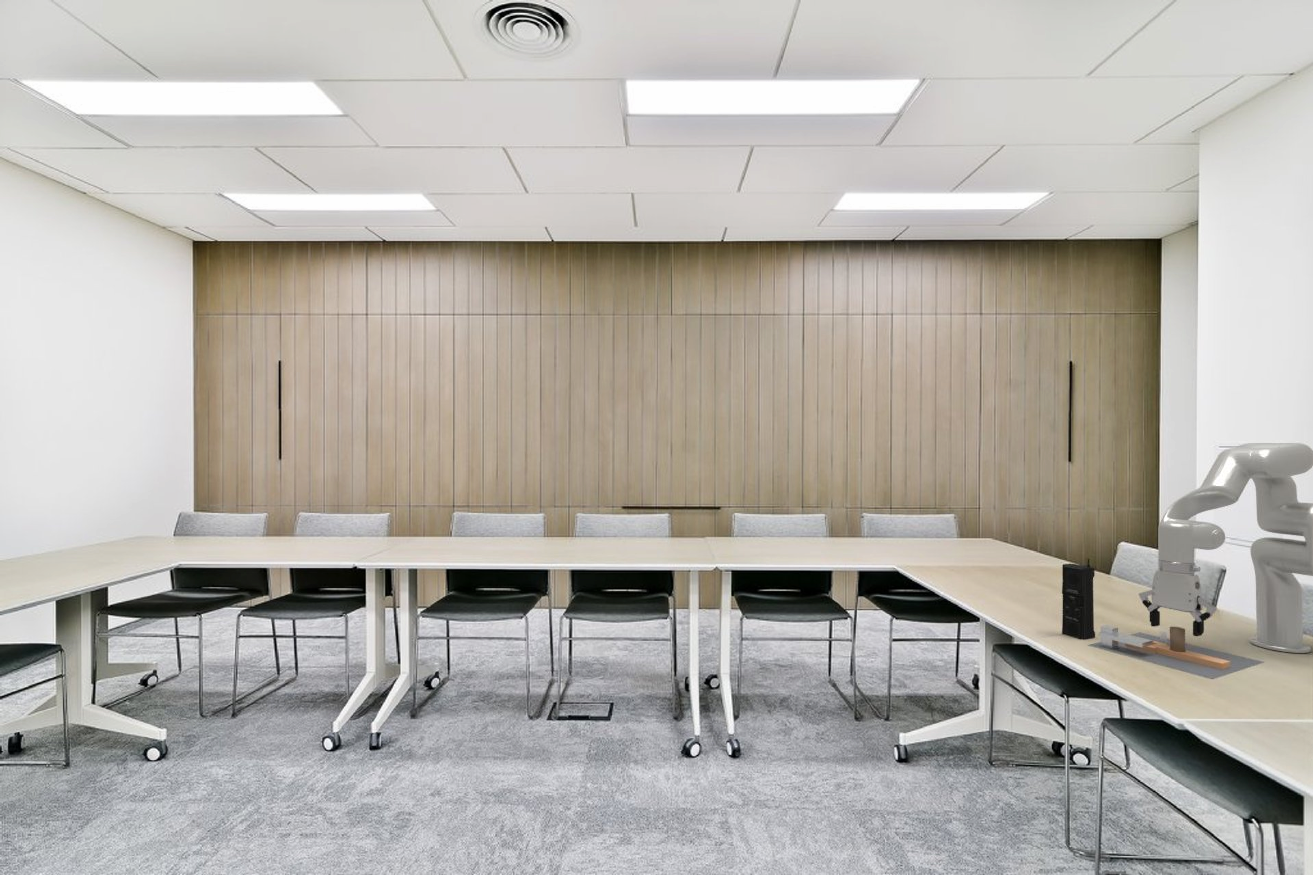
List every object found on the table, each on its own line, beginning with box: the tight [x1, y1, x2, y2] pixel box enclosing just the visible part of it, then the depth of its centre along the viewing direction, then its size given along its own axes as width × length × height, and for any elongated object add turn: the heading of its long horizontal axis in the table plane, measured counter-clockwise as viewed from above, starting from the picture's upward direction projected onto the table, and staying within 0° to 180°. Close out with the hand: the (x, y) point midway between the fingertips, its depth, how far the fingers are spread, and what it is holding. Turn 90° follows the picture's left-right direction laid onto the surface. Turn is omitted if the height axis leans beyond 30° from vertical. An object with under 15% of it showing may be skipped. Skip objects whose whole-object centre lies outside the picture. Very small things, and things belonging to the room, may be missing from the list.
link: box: [1125, 626, 1230, 670], centre depth 169 cm, size 22×7×8 cm, turn 26°
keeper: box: [1098, 624, 1153, 649], centre depth 173 cm, size 5×11×7 cm, turn 26°
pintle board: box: [1087, 629, 1264, 680], centre depth 171 cm, size 27×29×5 cm
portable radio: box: [1061, 558, 1096, 641], centre depth 187 cm, size 8×6×25 cm
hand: (1175, 630), depth 168 cm, fingers open, 9 cm apart
